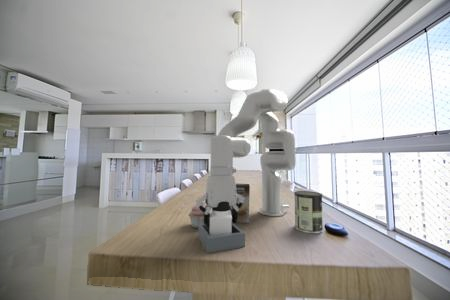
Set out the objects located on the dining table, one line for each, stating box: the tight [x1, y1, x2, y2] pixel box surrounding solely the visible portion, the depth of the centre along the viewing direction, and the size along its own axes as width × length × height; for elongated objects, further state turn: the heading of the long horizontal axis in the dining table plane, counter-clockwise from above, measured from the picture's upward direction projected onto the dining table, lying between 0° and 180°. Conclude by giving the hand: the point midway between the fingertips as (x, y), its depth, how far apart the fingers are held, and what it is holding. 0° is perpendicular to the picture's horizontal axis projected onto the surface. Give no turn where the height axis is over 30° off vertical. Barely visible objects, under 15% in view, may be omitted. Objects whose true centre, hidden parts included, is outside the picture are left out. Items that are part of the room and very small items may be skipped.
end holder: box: [197, 222, 246, 254], centre depth 60 cm, size 12×12×4 cm
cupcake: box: [188, 201, 211, 229], centre depth 74 cm, size 9×9×10 cm
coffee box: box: [230, 183, 251, 224], centre depth 82 cm, size 9×6×16 cm
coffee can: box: [293, 190, 324, 235], centre depth 73 cm, size 10×10×14 cm
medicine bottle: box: [209, 202, 233, 237], centre depth 61 cm, size 7×7×12 cm
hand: (220, 224), depth 60 cm, fingers closed on medicine bottle, 9 cm apart
